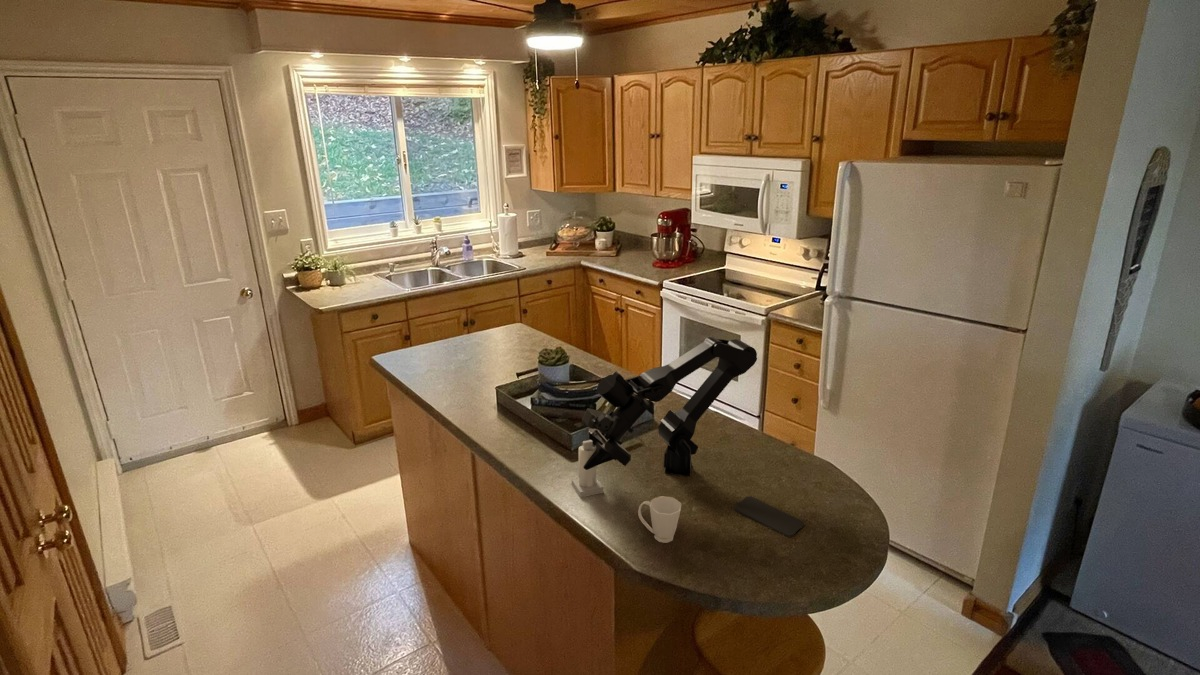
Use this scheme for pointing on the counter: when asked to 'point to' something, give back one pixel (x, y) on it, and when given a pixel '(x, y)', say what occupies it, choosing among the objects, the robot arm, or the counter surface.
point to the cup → (662, 517)
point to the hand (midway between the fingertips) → (582, 465)
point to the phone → (769, 516)
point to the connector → (586, 473)
